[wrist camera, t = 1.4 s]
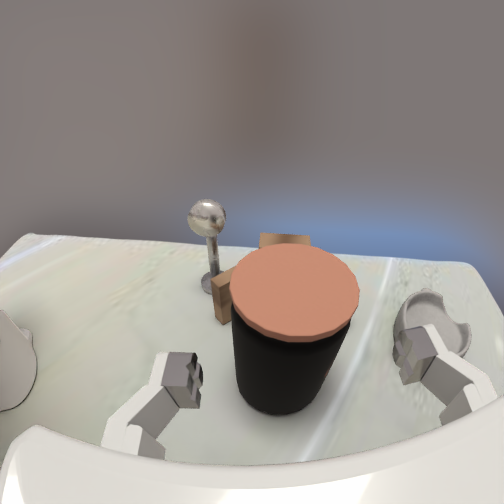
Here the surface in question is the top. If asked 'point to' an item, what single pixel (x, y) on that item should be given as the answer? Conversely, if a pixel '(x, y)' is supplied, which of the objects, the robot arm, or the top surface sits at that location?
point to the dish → (433, 320)
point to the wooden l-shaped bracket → (222, 280)
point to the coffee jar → (288, 323)
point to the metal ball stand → (208, 233)
